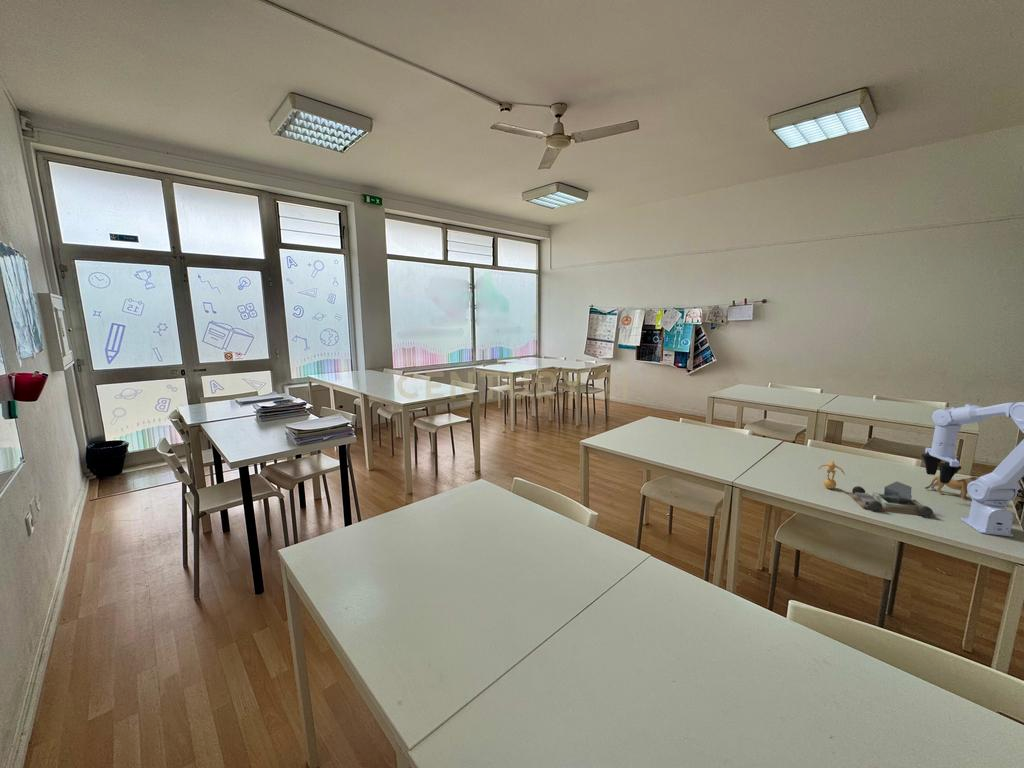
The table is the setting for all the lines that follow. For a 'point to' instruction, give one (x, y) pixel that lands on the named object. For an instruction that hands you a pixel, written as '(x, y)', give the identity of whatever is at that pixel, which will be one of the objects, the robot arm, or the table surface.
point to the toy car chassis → (888, 504)
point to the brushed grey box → (897, 493)
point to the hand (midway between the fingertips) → (937, 478)
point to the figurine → (830, 482)
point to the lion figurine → (953, 485)
